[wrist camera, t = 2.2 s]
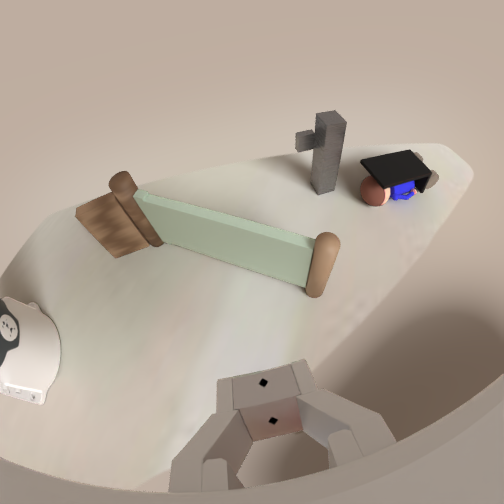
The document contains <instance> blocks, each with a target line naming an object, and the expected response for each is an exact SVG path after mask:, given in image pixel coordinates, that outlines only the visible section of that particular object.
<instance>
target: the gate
mask: <svg viewBox="0 0 504 504" xmlns="http://www.w3.org/2000/svg"><path fill="white" fill-rule="evenodd" d="M133 198H134V199H135V201H136V202H137V204H138V205H139V207H140V208H141V210H142V211H143V213H144V214H145V216H146V217H147V219H148V220H149V222H150V223H151V225H152V226H153V228H154V229H155V231H156V232H157V234H158V235H159V237H160V238H161V240H162V241H163V242H165V243H168V244H175V245H178V246H180V247H183V248H186V249H189V250H192V251H195V252H198V253H201V254H204V255H207V256H210V257H213V258H216V259H219V260H222V261H225V262H228V263H231V264H234V265H237V266H240V267H243V268H246V269H249V270H252V271H255V272H258V273H261V274H264V275H267V276H270V277H273V278H276V279H279V280H282V281H285V282H288V283H292V284H295V285H298V286H301V287H304V288H305V287H306V288H305V290H306V293H307V295H308V296H310V297H312V298H317V297H320V296H321V295H322V293H323V291H324V288H325V286H326V283H327V281H328V278H329V276H330V273H331V270H332V268H333V265H334V262H335V260H336V257H337V254H338V251H339V249H340V240H339V238H338V237H337V236H336V235H335V234H333V233H330V232H324V233H321V234H319V235H318V236H317V238H316V239H312V238H309V237H306V236H302V235H299V234H296V233H292V232H289V231H285V230H282V229H278V228H275V227H271V226H268V225H264V224H261V223H257V222H254V221H250V220H247V219H243V218H239V217H236V216H232V215H228V214H225V213H221V212H217V211H214V210H210V209H206V208H202V207H198V206H195V205H191V204H187V203H183V202H179V201H175V200H171V199H167V198H163V197H159V196H155V195H151V194H149V193H148V192H147V191H144V190H140V189H138V190H137V191H136V192H135V194H134V195H133Z"/></svg>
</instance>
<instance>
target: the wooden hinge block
mask: <svg viewBox="0 0 504 504" xmlns="http://www.w3.org/2000/svg"><path fill="white" fill-rule="evenodd" d="M109 187H110V189H111V190H112V192H110V193H108V194H106V195H103V196H101V197H99V198H97V199H95V200H92V201H90V202H88V203H86V204H84V205H82V206H80V207H78V208H76V216H75V217H76V218H77V219H78V220H79V221H80V222H81V223H82V225H83V226H84V227H85V228H86V229H87V230H88V231H89V232H90V233H91V234H92V235H93V236H94V237H95V238H96V239H97V240H98V241H99V242H100V243H101V244H102V245H103V246H104V247H105V248H106V249H107V250H108V251H109V252H110V253H111V254H112V255H113V256H114V257H115V258H118V257H121V256H124V255H126V254H129V253H132V252H135V251H137V250H140V249H143V248H145V247H148V246H150V245H149V243H150V244H151V245H152V246H154V247H159V246H161V245H163V244H164V243H165V242H163V241H162V240H161V238H160V237H159V235H158V234H157V232H156V231H155V229H154V228H153V226H152V225H151V223H150V222H149V220H148V219H147V217H146V216H145V214H144V213H143V211H142V210H141V208H140V207H139V205H138V204H137V202H136V201H135V199H134V198H133V195H134V194H135V192H136V191H137V190H138V188H137V186H136V184H135V183H134V181H133V179H132V177H131V176H130V174H129V173H128V172H127V171H122V172H119V173H117V174H115V175H114V176H113V177H112V178H111V180H110V181H109Z"/></svg>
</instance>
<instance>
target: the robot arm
mask: <svg viewBox="0 0 504 504" xmlns="http://www.w3.org/2000/svg"><path fill="white" fill-rule="evenodd" d="M60 355H61V348H60V339H59V335H58V331H57V329H56V327H55V325H54V323H53V321H52V320H51V319H50V318H49V317H48V316H46V315H45V314H43V313H42V312H41V310H40V308H39V306H38V305H37V304H36V303H34V302H30V303H29V304H27V305H26V304H24V303H21V302H19V301H17V300H15V299H12V298H10V297H8V296H5V297H4V298H2V299H0V393H2V394H5V395H8V396H11V397H14V398H17V399H21V400H24V401H28V402H31V403H35V404H39V405H43V404H44V402H45V398H46V394H47V390H48V389H49V387H50V386H51V384H52V383H53V381H54V379H55V377H56V375H57V372H58V369H59V364H60ZM302 430H303V431H304V432H305V433H307V434H308V435H309V436H311V437H312V438H313V439H315V440H316V441H317V442H319V443H320V444H322V445H323V446H325V447H326V448H327V449H328V452H329V468H330V469H328V470H325V471H321V472H318V473H314V474H311V475H307V476H303V477H300V478H295V479H291V480H287V481H282V482H277V483H272V484H267V485H262V486H255V487H248V488H245V487H244V486H243V484H242V483H241V481H240V480H239V479H238V477H237V476H236V474H237V473H238V471H239V469H240V467H241V465H242V464H243V462H244V460H245V458H246V456H247V454H248V452H249V450H250V449H251V446H252V445H253V442H255V441H259V440H264V439H268V438H271V437H276V436H280V435H285V434H289V433H294V432H298V431H302ZM0 504H504V373H503V375H501V376H500V377H499V378H497V380H495V381H494V382H493V383H491V384H490V385H489V386H488V387H486V388H485V389H484V390H482V391H481V392H480V393H478V394H477V395H476V396H475V397H473V398H472V399H470V400H469V401H467V402H466V403H465V404H463V405H461V406H460V407H458V408H457V409H455V410H454V411H452V412H451V413H450V414H448V415H446V416H444V417H443V418H441V419H440V420H438V421H436V422H435V423H433V424H432V425H429V426H428V427H426V428H424V429H422V430H420V431H419V432H417V433H415V434H413V435H411V436H409V437H407V438H405V439H403V440H401V441H399V442H396V440H395V438H394V436H393V435H392V433H391V431H390V430H389V428H388V426H387V425H386V423H385V421H384V420H383V418H382V416H381V415H380V414H378V413H376V412H374V411H371V410H369V409H366V408H364V407H362V406H360V405H358V404H355V403H353V402H351V401H349V400H347V399H344V398H342V397H340V396H338V395H336V394H334V393H332V392H329V391H327V390H325V389H318V387H317V385H316V382H315V380H314V378H313V375H312V373H311V371H310V368H309V366H308V364H307V361H306V360H305V359H302V360H299V361H296V362H292V363H290V364H286V365H283V366H279V367H275V368H271V369H267V370H263V371H258V372H254V373H249V374H244V375H239V376H233V377H229V378H223V379H218V381H217V409H216V414H212V415H211V416H210V417H209V419H208V420H207V421H206V422H205V423H204V425H203V426H202V427H201V428H200V429H199V431H198V432H197V433H196V434H195V435H194V436H193V438H192V439H191V440H190V441H189V442H188V443H187V445H186V446H185V447H184V448H183V449H182V450H181V451H180V452H179V454H178V455H177V456H176V457H175V458H174V459H173V460H172V466H171V474H170V483H169V492H168V493H164V492H144V491H143V492H142V491H132V490H122V489H114V488H107V487H101V486H95V485H90V484H84V483H80V482H75V481H71V480H67V479H63V478H59V477H55V476H52V475H48V474H45V473H41V472H38V471H35V470H32V469H29V468H26V467H24V466H21V465H18V464H16V463H13V462H11V461H8V460H6V459H3V458H1V457H0Z"/></svg>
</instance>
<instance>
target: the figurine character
mask: <svg viewBox="0 0 504 504" xmlns="http://www.w3.org/2000/svg"><path fill="white" fill-rule="evenodd" d="M360 163H361V164H362V165H363V166H364V168H365V169H366V170H367V171H368V172H369V173H370V174H371V176H368V177H366V178H365V179H364V180H363V182H362V184H361V187H360V192H361V196H362V198H363V200H364V201H365V202H366V203H368V204H369V205H371V206H381V205H383V204H385V203H386V202H387V201H388V199H389V197H392V198H393V200H397V199H404V200H408V199H409V198H410V197H411V196H413V195H415V194H416V193H417V192H418V191H419V192H420V193H423V192H424V190H425V188H426V189H429V188H431V187H432V186H433V185H435V184H436V182H437V181H438V179H439V175H438V174H437V173H436V172H435V171H434V170H431V171H430V170H429V169H428V167H427V166H426V165H425V164H424V163H423V158H422V157H421V156H420V155H419V154H418V153H417V152H415V153H413V152H412V151H411V150H405V151H400V152H395V153H390V154H385V155H380V156H376V157H371V158H367V159H362V160H361V161H360ZM414 187H416V189H414ZM406 192H409V194H407V195H400V194H403V193H406Z"/></svg>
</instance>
